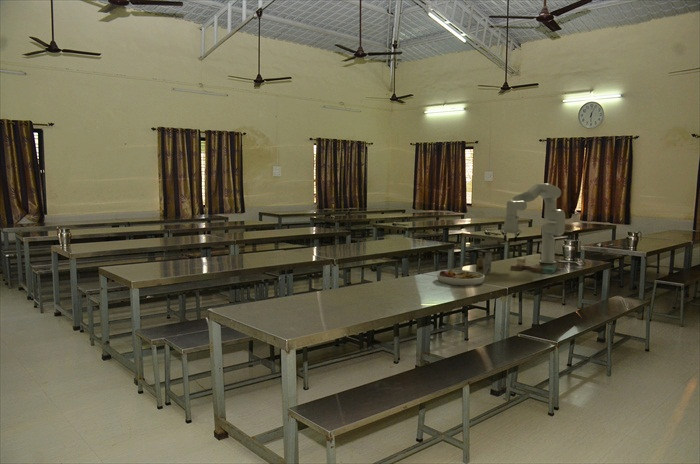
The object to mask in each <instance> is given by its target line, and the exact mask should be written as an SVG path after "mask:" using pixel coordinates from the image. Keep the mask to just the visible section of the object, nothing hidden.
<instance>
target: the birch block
mask: <svg viewBox="0 0 700 464" xmlns="http://www.w3.org/2000/svg"><path fill="white" fill-rule="evenodd" d="M516 262H517V265H525V263H526V257H521V256H520V257H517V258H516Z"/></svg>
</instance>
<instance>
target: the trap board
mask: <svg viewBox="0 0 700 464" xmlns="http://www.w3.org/2000/svg"><path fill="white" fill-rule="evenodd" d="M557 267H558V266H557V265H548V264H545V265H538V264H537V263H529V262H528V263H527V262H525V265H517V261H516V262H514V263H513V264H511V265H510V271H511V270H512V271H519V272H531V273H540V274H541V273H542V274H550V275H551V274H554V273H555V272H556V271H557Z"/></svg>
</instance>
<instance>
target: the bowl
mask: <svg viewBox="0 0 700 464" xmlns="http://www.w3.org/2000/svg"><path fill="white" fill-rule="evenodd" d="M436 277H437V279H438V281H439V282H441V283H443V284H445V285H450V286H458V285H460V286H459V287H463V286H464V287H466V286H467V287H469V286H471V285H472V286H478V285H480V284H482V283H483V282H484V281H485V277H486V276H485V274H481V273H477V272H476V271H470V270H458V269H457V270H453V269H449V270H441V271H438V272H437V273H436ZM472 286H471V287H472Z"/></svg>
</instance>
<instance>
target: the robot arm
mask: <svg viewBox="0 0 700 464" xmlns="http://www.w3.org/2000/svg"><path fill="white" fill-rule="evenodd" d="M561 195H562V189H560V187H558V186H555V185H553V184H551V183H543V182H542V183H540V182H539V183H535V184H534V185H533V186H532V187H530V188H529V189H528V190H527V191H524V192H522V193H519V194H517V195H514V196H513V197H512V198H510V200H508V201H507V202H506V212H505V213H506V215H505V216H506V217H505V219H504V223H503V227H502V228H501V229H500V230H499V231H500V233H501V234H502V235H503V240H504V242H507V240H508V239H507V234H514V240H513V241H514V243H517V241H518V237H519V236H520V235H521V234H522V233H523V231H522V230H521V229H520V228H519V220H518V219H519V217H520V216H518V211H519V212H520V211H525V210H526V209H527V208H528V203H530V202H533V201H535V200H536V199H537V198H538V197H541V198H542V199H543V201H544V214H543V217H544V220H546V221H547V222H544V223H542V225H541V237H542V240H541V242H542V243H541V255H540V256H541V259H538V261H539V262H540V263H543V264H557V261H556V260H555V249H556V248H555V247H556V239H555V236H557V237H561V236H562V235H564V233H565V227H566V213H565V211H564V210H563V209H560V208H559V209H557V201H556V199H558V198H560V197H561Z"/></svg>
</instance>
